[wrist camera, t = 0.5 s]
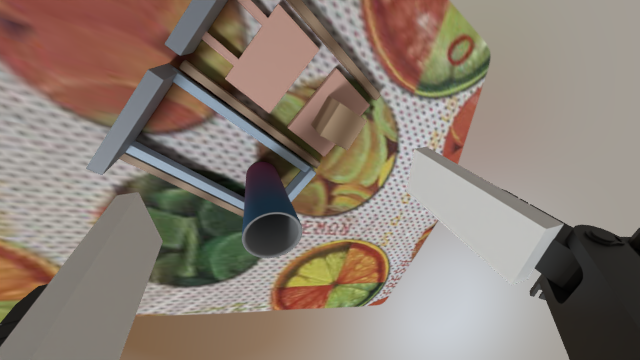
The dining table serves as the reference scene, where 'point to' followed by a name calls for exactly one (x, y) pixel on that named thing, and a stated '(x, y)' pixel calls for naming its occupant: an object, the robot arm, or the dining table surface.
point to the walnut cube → (338, 123)
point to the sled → (124, 141)
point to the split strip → (268, 63)
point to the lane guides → (203, 79)
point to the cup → (268, 214)
